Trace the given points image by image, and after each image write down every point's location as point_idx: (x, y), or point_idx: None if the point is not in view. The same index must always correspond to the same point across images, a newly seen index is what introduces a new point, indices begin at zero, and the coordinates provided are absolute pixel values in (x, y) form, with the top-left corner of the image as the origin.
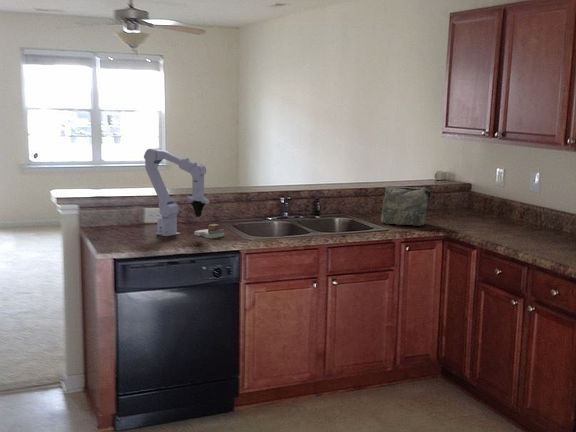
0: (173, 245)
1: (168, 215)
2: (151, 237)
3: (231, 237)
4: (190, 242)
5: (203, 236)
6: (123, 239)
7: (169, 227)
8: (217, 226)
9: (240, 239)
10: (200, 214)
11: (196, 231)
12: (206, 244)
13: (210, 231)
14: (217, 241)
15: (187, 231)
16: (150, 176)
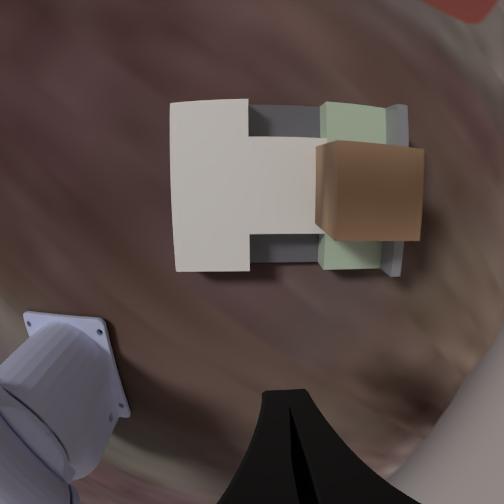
0: None
1: (76, 494)
2: (119, 451)
3: (438, 111)
4: (354, 410)
5: (297, 261)
6: (115, 499)
7: (95, 420)
8: (417, 180)
9: (499, 129)
10: (316, 413)
11: (198, 268)
12: (445, 370)
13: (394, 271)
14: (455, 280)
15: (47, 211)
16: None
